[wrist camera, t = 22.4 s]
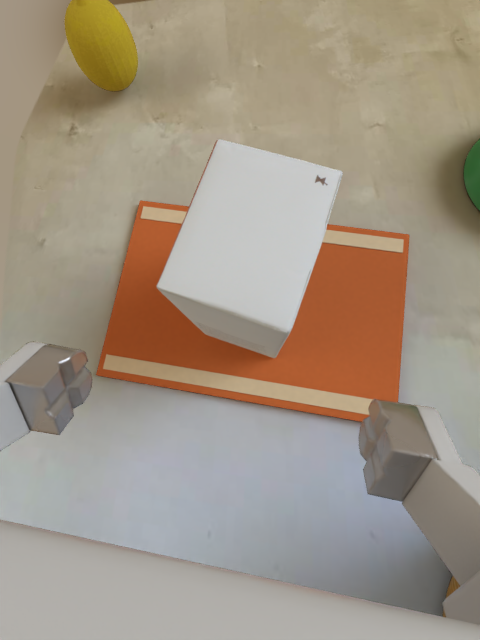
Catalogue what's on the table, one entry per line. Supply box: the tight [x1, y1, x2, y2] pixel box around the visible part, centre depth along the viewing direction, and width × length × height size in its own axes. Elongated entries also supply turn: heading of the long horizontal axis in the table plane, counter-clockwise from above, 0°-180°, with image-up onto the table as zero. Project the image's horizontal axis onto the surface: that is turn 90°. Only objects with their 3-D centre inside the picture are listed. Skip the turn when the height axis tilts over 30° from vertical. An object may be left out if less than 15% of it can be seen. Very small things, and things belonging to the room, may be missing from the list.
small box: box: [156, 139, 343, 358], centre depth 21 cm, size 8×6×13 cm
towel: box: [96, 201, 409, 422], centre depth 27 cm, size 24×16×1 cm, turn 80°
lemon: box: [65, 0, 138, 91], centre depth 29 cm, size 6×6×8 cm
